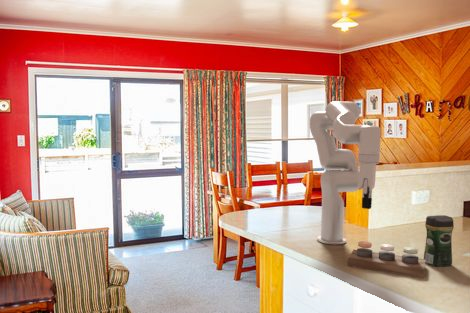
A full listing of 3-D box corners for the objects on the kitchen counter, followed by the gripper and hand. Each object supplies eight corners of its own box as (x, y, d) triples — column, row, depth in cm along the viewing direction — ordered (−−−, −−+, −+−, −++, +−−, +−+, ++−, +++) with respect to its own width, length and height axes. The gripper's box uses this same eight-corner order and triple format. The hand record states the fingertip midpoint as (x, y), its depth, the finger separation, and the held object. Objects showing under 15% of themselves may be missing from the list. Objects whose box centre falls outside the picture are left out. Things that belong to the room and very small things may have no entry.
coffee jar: (441, 259, 173) (443, 213, 171) (455, 266, 165) (458, 217, 164) (419, 261, 171) (422, 213, 169) (432, 267, 163) (435, 218, 162)
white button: (381, 246, 166) (381, 243, 166) (394, 248, 164) (394, 245, 164) (379, 249, 162) (379, 246, 162) (393, 251, 160) (393, 248, 160)
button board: (353, 256, 174) (353, 244, 174) (425, 267, 163) (425, 254, 163) (347, 265, 164) (348, 252, 163) (423, 277, 153) (424, 263, 152)
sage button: (403, 249, 163) (404, 246, 163) (417, 251, 161) (418, 248, 161) (402, 253, 158) (402, 249, 158) (417, 255, 156) (417, 251, 156)
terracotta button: (359, 243, 170) (359, 240, 169) (372, 245, 167) (372, 242, 167) (357, 246, 165) (357, 243, 165) (370, 248, 163) (370, 245, 163)
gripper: (361, 157, 172) (359, 203, 174) (354, 160, 158) (352, 210, 160) (381, 158, 169) (379, 205, 170) (376, 161, 155) (374, 212, 157)
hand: (366, 208), depth 165 cm, fingers closed
